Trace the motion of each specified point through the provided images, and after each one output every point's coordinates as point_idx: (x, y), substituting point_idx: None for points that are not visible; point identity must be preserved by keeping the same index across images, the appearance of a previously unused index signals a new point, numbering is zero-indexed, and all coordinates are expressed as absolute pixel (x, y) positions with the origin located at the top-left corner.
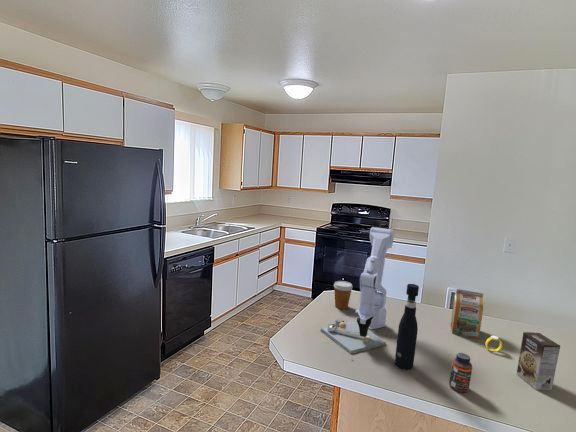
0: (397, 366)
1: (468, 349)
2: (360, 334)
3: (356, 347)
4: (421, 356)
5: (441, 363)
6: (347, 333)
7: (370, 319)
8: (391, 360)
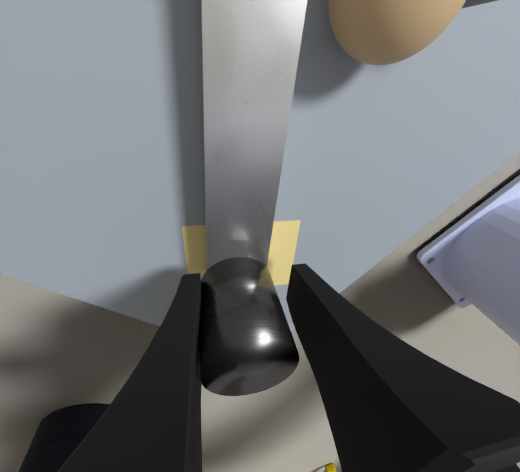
0: (40, 424)
1: (320, 452)
2: (180, 287)
3: (3, 253)
4: (217, 426)
5: (203, 454)
6: (203, 117)
7: (345, 469)
8: (92, 392)
